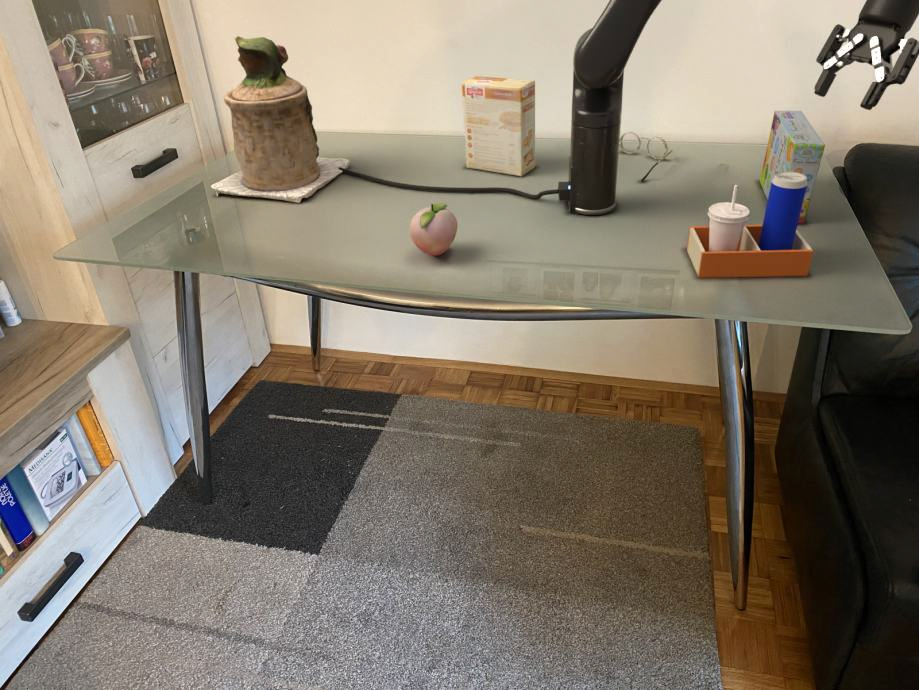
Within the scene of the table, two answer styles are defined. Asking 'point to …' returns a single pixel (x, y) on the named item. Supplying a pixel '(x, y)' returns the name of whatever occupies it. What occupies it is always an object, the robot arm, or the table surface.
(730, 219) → the smoothie
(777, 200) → the beverage can
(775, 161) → the snack box
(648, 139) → the round eyeglasses
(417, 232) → the decorative fruit
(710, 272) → the carrier
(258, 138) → the cookie jar
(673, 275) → the table surface
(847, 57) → the robot arm
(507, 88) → the coffeecake box
